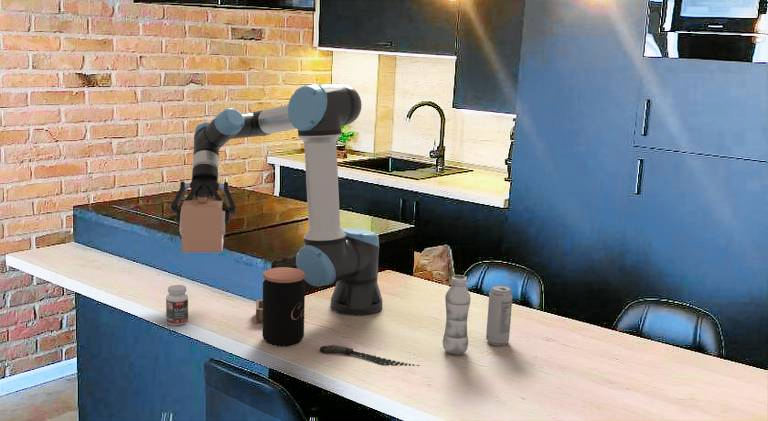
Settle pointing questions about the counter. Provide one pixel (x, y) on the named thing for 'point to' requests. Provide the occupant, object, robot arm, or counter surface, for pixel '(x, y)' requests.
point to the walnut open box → (259, 311)
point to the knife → (348, 351)
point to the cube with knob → (202, 225)
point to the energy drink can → (499, 315)
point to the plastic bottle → (456, 316)
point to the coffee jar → (283, 306)
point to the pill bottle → (177, 305)
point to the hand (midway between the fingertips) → (202, 232)
